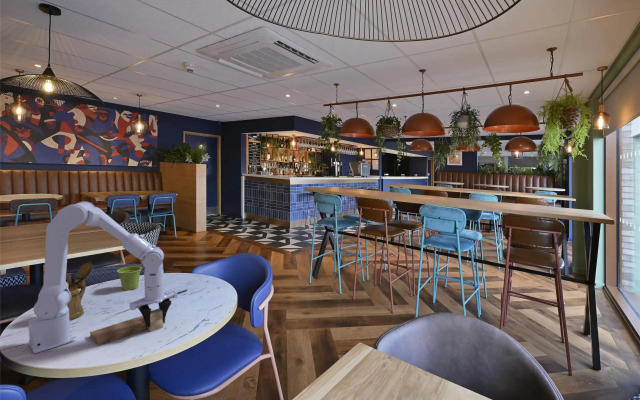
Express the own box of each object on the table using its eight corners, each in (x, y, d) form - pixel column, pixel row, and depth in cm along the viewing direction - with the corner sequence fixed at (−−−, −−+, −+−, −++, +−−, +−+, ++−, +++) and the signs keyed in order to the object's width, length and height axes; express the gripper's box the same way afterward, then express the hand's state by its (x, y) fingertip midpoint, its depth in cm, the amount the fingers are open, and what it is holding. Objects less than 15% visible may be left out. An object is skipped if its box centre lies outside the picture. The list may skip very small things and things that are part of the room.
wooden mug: (101, 308, 122) (99, 262, 120) (63, 323, 109) (60, 272, 107) (85, 304, 125) (83, 259, 123) (45, 319, 112) (43, 269, 110)
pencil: (187, 291, 141) (154, 303, 128) (185, 291, 141) (152, 302, 129) (187, 289, 141) (154, 301, 128) (185, 289, 141) (152, 300, 129)
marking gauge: (150, 331, 105) (150, 314, 105) (140, 323, 111) (139, 306, 110) (162, 327, 108) (162, 310, 108) (152, 319, 114) (151, 303, 113)
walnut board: (98, 345, 96) (98, 340, 96) (90, 336, 101) (90, 331, 101) (165, 322, 111) (165, 318, 111) (155, 315, 117) (155, 311, 116)
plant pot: (134, 292, 138) (133, 272, 137) (112, 291, 138) (112, 272, 137) (146, 284, 147) (145, 266, 147) (126, 284, 147) (125, 265, 147)
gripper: (135, 293, 98) (136, 335, 99) (181, 282, 109) (181, 319, 110) (126, 288, 102) (128, 328, 104) (171, 277, 114) (172, 313, 115)
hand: (155, 323), depth 107 cm, fingers closed on marking gauge, 4 cm apart
